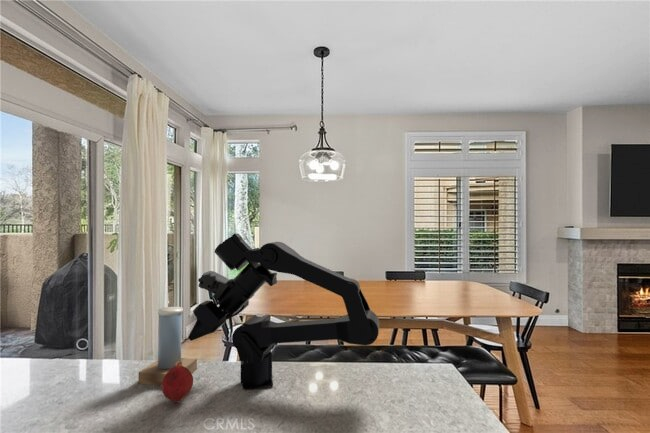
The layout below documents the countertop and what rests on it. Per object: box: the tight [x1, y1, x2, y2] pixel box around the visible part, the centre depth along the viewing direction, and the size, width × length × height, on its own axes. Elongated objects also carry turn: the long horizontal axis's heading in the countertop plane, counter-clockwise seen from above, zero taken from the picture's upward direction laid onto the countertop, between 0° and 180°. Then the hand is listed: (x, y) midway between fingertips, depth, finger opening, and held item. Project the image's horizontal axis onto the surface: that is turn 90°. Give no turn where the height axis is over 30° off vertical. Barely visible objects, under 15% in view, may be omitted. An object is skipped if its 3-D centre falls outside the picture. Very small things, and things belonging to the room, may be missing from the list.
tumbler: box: [157, 306, 184, 370], centre depth 82 cm, size 5×5×13 cm
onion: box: [161, 361, 194, 403], centre depth 70 cm, size 6×6×8 cm
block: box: [138, 357, 198, 386], centre depth 81 cm, size 9×9×2 cm
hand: (199, 332), depth 80 cm, fingers open, 9 cm apart
